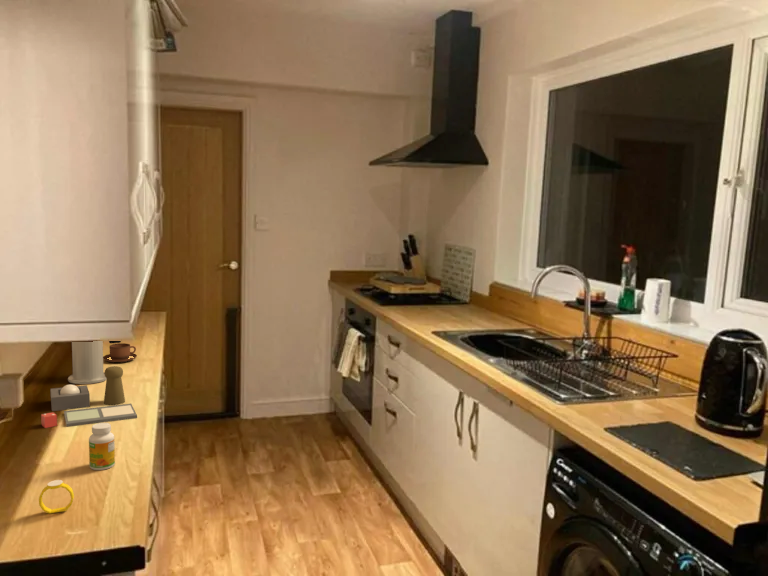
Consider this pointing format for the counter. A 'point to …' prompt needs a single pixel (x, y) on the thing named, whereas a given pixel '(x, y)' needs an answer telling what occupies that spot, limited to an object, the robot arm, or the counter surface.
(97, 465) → the supplement bottle
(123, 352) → the cup and saucer
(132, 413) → the game board
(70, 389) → the cream white ball
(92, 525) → the counter surface
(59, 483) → the watch
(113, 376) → the brown pepper mill
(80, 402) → the gray square holder
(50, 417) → the red die
